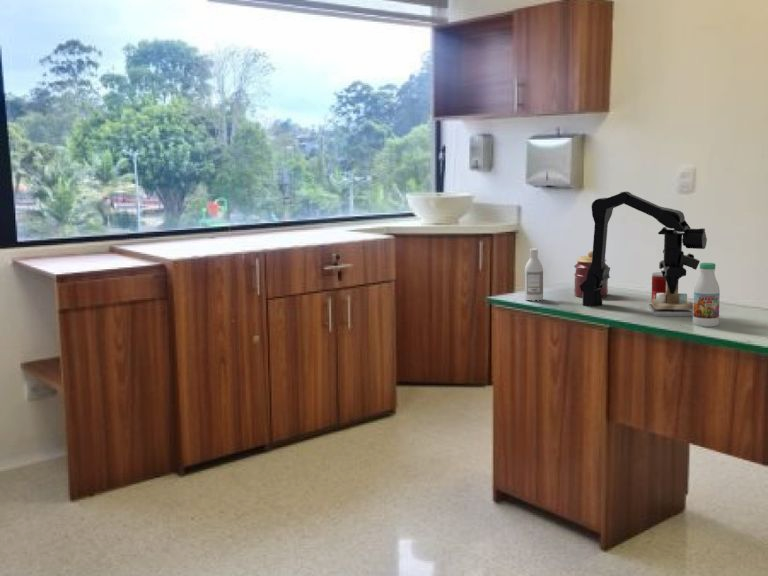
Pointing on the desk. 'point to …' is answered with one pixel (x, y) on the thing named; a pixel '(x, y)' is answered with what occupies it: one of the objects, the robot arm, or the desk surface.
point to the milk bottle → (706, 297)
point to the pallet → (672, 306)
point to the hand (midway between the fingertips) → (671, 292)
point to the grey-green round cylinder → (682, 298)
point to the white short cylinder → (660, 298)
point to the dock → (670, 312)
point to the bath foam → (534, 277)
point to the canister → (585, 274)
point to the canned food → (658, 284)
